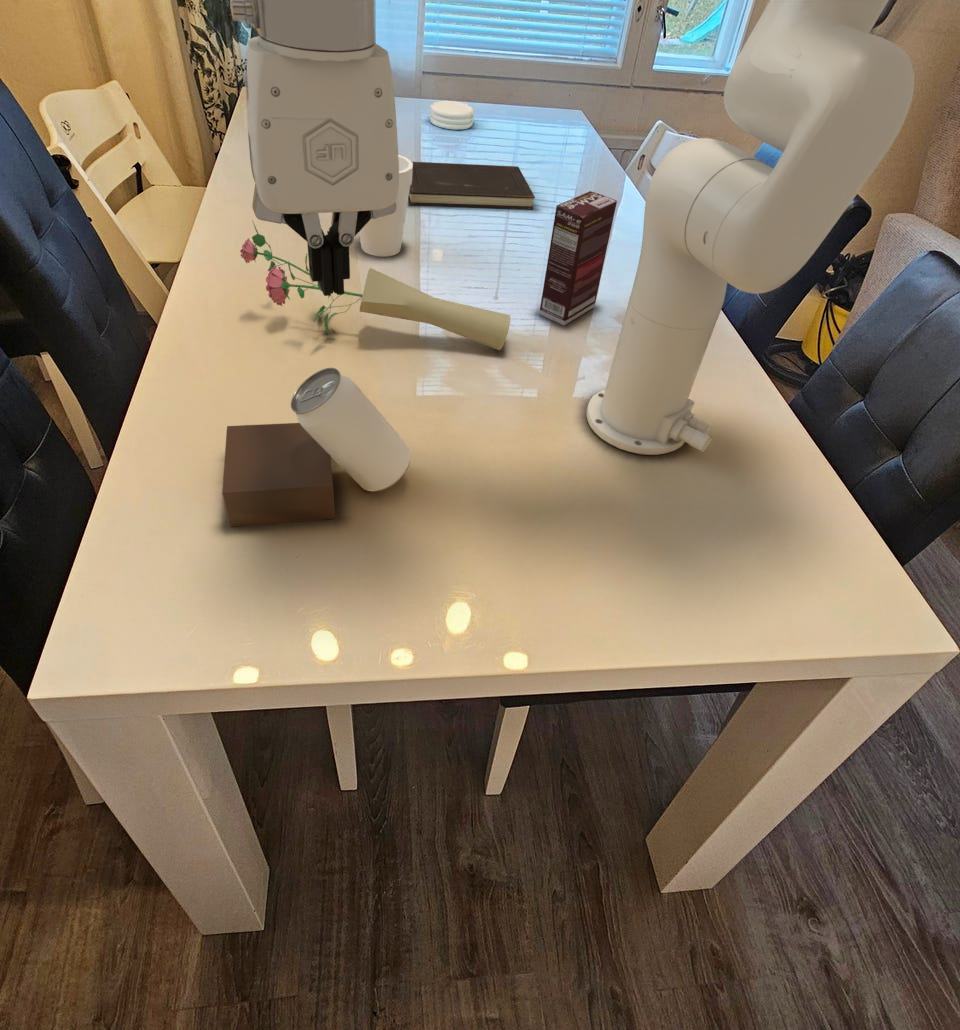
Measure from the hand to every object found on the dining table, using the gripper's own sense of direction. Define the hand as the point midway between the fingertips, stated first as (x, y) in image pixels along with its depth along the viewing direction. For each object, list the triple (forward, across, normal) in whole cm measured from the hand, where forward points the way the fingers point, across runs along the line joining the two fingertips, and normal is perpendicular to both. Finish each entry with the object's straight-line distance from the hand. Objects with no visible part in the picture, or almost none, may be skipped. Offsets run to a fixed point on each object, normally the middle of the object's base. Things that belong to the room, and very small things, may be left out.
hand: (330, 287), depth 58 cm
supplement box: (+22, +40, +29) cm, 54 cm away
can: (+20, +5, -1) cm, 21 cm away
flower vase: (+22, +11, +28) cm, 38 cm away
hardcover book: (+22, +41, +75) cm, 88 cm away
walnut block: (+22, -6, +1) cm, 23 cm away
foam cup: (+22, +19, +54) cm, 61 cm away
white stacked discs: (+22, +52, +114) cm, 127 cm away
